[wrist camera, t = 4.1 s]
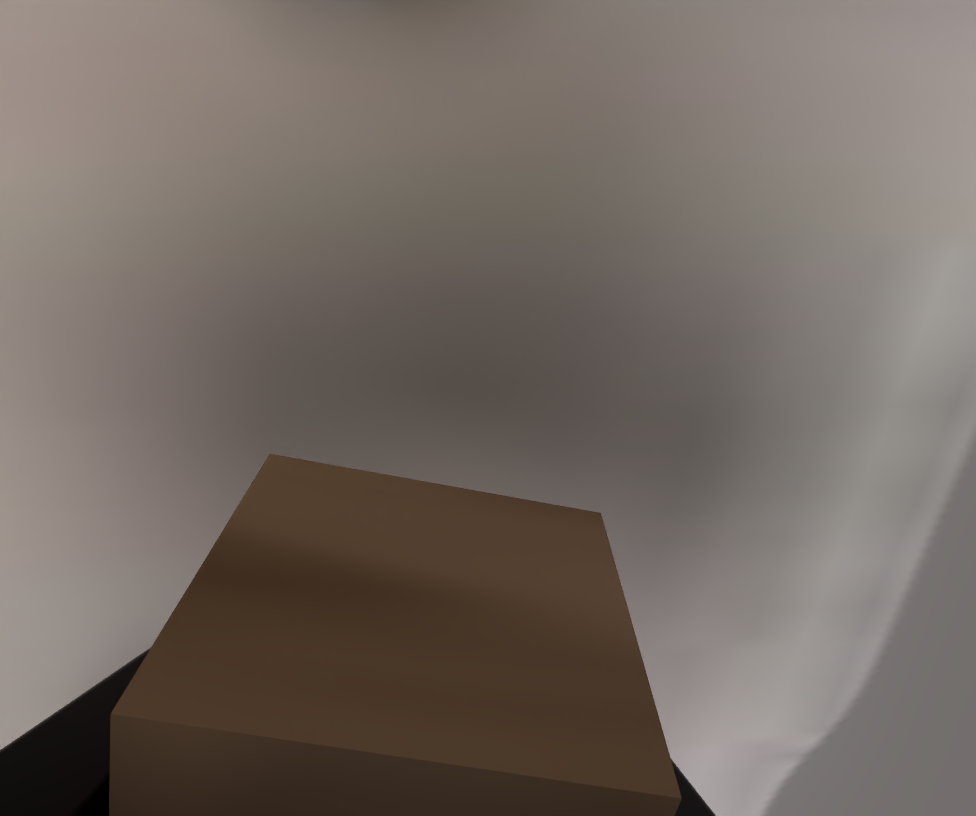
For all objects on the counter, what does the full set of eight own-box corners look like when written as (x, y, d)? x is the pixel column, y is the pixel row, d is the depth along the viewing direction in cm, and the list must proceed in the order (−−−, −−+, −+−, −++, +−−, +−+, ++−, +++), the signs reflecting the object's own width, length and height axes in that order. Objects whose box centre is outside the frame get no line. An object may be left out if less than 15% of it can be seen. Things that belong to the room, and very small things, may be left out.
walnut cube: (528, 754, 10) (551, 1111, 7) (243, 712, 10) (104, 1060, 6) (600, 513, 9) (682, 798, 5) (270, 454, 9) (110, 715, 5)
